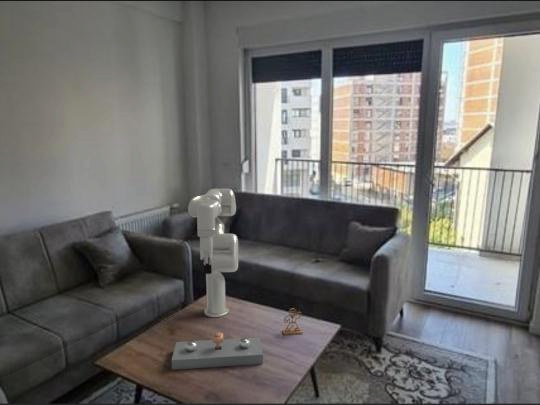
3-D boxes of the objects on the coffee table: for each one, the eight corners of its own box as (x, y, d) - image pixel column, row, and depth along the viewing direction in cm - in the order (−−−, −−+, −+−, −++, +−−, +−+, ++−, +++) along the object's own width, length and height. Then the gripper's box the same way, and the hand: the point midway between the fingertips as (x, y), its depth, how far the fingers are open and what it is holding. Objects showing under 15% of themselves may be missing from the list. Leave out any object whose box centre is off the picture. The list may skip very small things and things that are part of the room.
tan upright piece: (283, 335, 181) (283, 310, 179) (282, 331, 185) (282, 307, 183) (302, 334, 182) (302, 309, 180) (301, 330, 186) (301, 306, 184)
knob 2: (239, 350, 166) (239, 337, 165) (249, 349, 167) (249, 336, 166) (239, 356, 162) (239, 342, 161) (250, 355, 163) (250, 341, 162)
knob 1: (186, 353, 164) (186, 340, 163) (197, 352, 165) (196, 339, 164) (185, 359, 160) (184, 345, 159) (196, 358, 160) (195, 345, 159)
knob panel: (176, 350, 169) (176, 342, 168) (260, 345, 172) (260, 337, 172) (172, 369, 155) (171, 360, 154) (262, 363, 159) (262, 354, 158)
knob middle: (212, 345, 165) (212, 331, 164) (223, 344, 165) (223, 331, 164) (212, 350, 160) (212, 337, 160) (223, 350, 161) (223, 336, 160)
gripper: (198, 228, 175) (200, 268, 178) (196, 236, 160) (197, 279, 163) (215, 227, 175) (217, 267, 178) (214, 236, 161) (216, 279, 164)
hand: (207, 273), depth 171 cm, fingers closed
